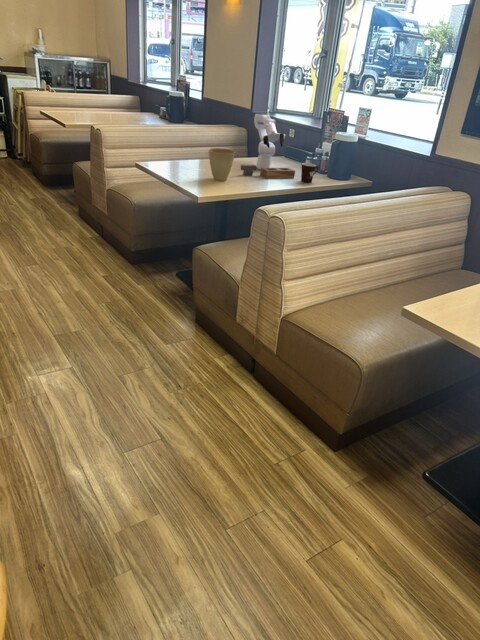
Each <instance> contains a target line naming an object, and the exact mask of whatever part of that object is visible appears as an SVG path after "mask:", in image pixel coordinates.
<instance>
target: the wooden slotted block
mask: <svg viewBox="0 0 480 640" xmlns="http://www.w3.org/2000/svg"><path fill="white" fill-rule="evenodd" d="M259 175H260V176H261V177H263V178H264V179H294V178H295V175H296V170H295V169H292V168H291V167H270V168H261V170H260V173H259Z"/></svg>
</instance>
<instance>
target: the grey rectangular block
mask: <svg viewBox="0 0 480 640" xmlns="http://www.w3.org/2000/svg"><path fill="white" fill-rule="evenodd" d="M256 167H257V164H256V165H255V164H241V165H240V170H241V171H242V172H243V173H242V174H243V176H245V177H247V176H250V177H251V176H253V175H254V171H257V168H256Z"/></svg>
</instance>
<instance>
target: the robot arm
mask: <svg viewBox="0 0 480 640" xmlns="http://www.w3.org/2000/svg"><path fill="white" fill-rule="evenodd" d="M253 119H254V120H253V121H254V127H255V129H257V131H258V134H259V135H258V136H259V139H260V142H259V143H258V148H257V149H258V157H257V161H256V169H258V170H260V171H261V168H271V166H272V165H271V163H272V157H273V156H274V155H275V153H276V146H275V144H274V143H275V142H276V141H277V142H278V141H279V143H280V147H283V143H284V140H285V139H286V134H285V133H281V132H280V133H279V132H278V131H277V128H276V124H277V121H276V119H275V118H273V119H272V118H271V116H270V114H259V113H255V114H254V118H253Z"/></svg>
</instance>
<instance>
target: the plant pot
mask: <svg viewBox="0 0 480 640" xmlns="http://www.w3.org/2000/svg"><path fill="white" fill-rule="evenodd" d="M235 154H236V151H235V150H232V149H228V148H219V147H217V148H216V147H215V148H209V149H208V157H209V165H210V171H211V175H212V178H213V180H215V181H219V182H224V181H227V179H228V177H229V174H230V173H231V169H232V167H233V163H234V158H235V156H236V155H235Z"/></svg>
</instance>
